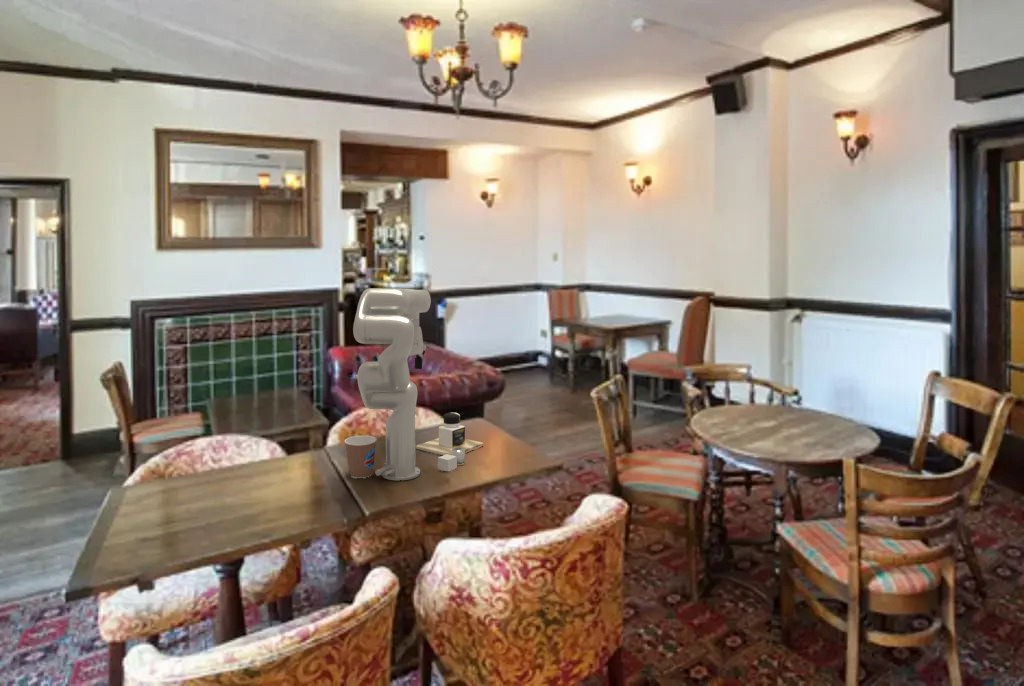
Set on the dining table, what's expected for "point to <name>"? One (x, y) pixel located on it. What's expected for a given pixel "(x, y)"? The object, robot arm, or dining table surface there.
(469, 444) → the birch board
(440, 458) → the white cube
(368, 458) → the coffee cup
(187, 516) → the dining table surface
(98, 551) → the dining table surface
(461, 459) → the metal canister
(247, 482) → the dining table surface
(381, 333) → the robot arm
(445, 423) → the medicine bottle
